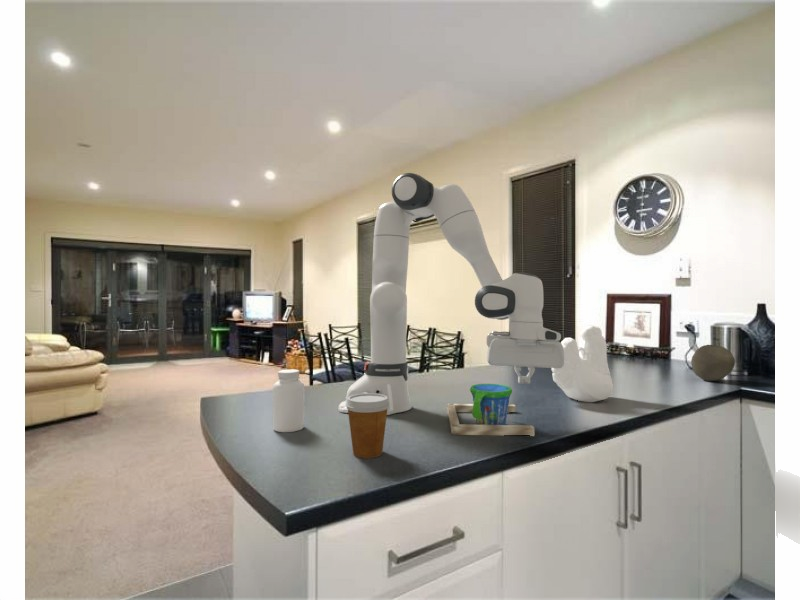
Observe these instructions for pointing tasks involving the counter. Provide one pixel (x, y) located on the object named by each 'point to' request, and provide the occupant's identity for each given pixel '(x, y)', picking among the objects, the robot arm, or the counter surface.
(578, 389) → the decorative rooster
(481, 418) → the snack cup
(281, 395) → the pill bottle
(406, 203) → the robot arm
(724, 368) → the cantaloupe
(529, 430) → the wooden frame
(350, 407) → the disposable coffee cup
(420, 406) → the counter surface
